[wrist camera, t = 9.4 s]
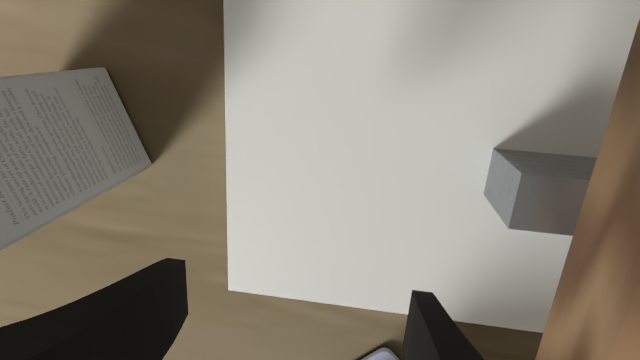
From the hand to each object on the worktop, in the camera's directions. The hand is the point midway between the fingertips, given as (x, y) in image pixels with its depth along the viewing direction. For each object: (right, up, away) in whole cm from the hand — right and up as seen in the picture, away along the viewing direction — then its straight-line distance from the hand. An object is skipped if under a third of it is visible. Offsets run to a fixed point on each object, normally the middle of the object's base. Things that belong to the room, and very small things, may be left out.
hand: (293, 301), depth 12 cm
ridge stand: (+8, +5, +8) cm, 12 cm away
